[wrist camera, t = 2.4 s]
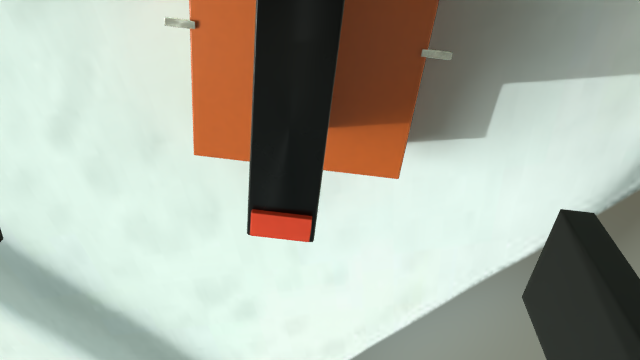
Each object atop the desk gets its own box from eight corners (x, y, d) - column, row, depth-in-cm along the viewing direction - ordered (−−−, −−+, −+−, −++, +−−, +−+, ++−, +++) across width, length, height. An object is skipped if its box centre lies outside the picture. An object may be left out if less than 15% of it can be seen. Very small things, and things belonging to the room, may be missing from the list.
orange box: (183, -161, 23) (153, -163, 19) (474, -124, 23) (496, -120, 20) (192, 120, 30) (172, 154, 27) (411, 146, 31) (419, 183, 27)
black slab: (290, -73, 21) (255, -31, 13) (348, -66, 21) (347, -19, 13) (276, 123, 26) (245, 239, 18) (323, 129, 26) (313, 247, 18)
